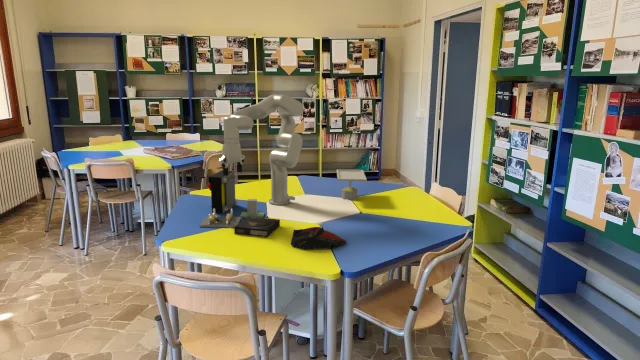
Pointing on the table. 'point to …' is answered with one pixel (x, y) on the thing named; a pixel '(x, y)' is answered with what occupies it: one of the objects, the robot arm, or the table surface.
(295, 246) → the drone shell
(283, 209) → the table surface
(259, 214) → the board
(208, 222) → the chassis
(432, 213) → the table surface
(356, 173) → the solar panel model
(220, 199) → the electrical component
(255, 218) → the portable cd player
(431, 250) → the table surface
